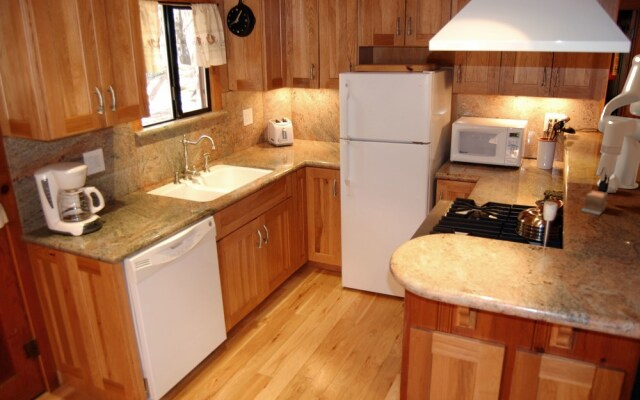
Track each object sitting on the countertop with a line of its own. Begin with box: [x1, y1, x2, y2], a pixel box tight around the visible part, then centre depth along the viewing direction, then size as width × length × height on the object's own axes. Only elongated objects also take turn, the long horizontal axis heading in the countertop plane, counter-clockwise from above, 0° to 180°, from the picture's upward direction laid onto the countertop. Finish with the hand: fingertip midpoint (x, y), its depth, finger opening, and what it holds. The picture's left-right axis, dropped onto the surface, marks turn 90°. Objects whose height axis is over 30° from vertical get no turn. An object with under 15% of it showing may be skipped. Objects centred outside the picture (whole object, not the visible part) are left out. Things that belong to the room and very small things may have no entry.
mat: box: [580, 206, 606, 216], centre depth 212 cm, size 10×7×1 cm
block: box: [583, 189, 609, 212], centre depth 212 cm, size 6×6×8 cm
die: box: [596, 174, 622, 194], centre depth 232 cm, size 8×9×10 cm
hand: (602, 191), depth 218 cm, fingers closed
